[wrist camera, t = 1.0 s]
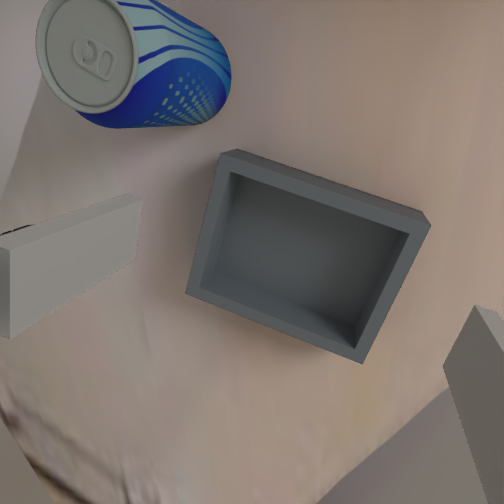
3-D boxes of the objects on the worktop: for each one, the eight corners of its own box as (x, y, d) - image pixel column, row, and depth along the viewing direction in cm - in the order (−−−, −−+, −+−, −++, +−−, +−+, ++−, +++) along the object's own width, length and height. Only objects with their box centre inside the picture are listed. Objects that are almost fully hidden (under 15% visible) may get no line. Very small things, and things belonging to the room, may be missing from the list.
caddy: (237, 148, 38) (220, 153, 33) (421, 211, 36) (431, 225, 31) (203, 274, 43) (185, 293, 39) (362, 336, 41) (362, 364, 36)
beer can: (174, 138, 39) (64, 150, 25) (138, 53, 37) (-3, 12, 23) (249, 103, 36) (175, 94, 22) (214, 10, 35) (108, -69, 20)
